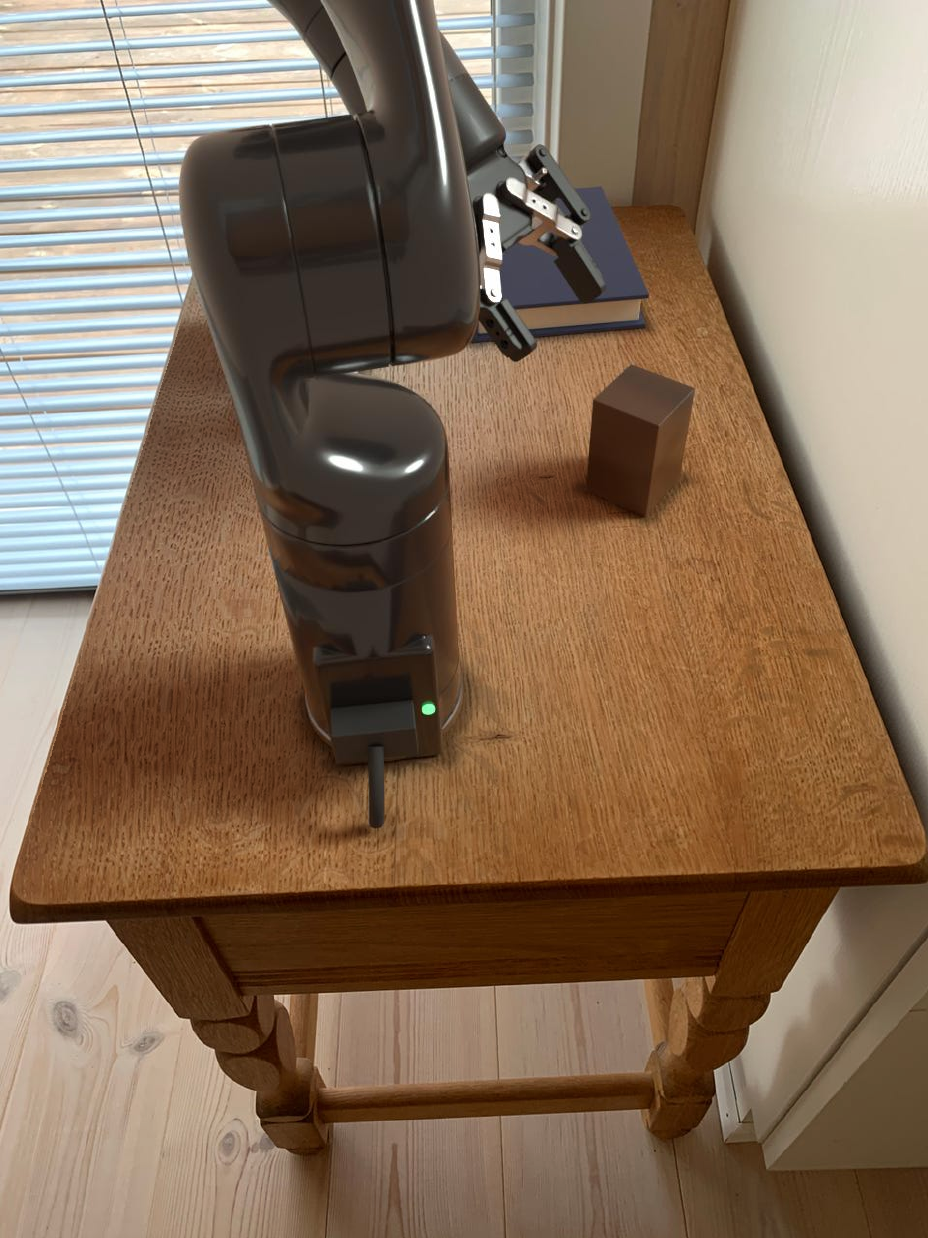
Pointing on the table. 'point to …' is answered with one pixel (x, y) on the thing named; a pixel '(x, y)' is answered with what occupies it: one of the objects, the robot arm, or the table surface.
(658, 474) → the walnut block
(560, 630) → the table surface
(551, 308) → the book
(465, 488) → the table surface
